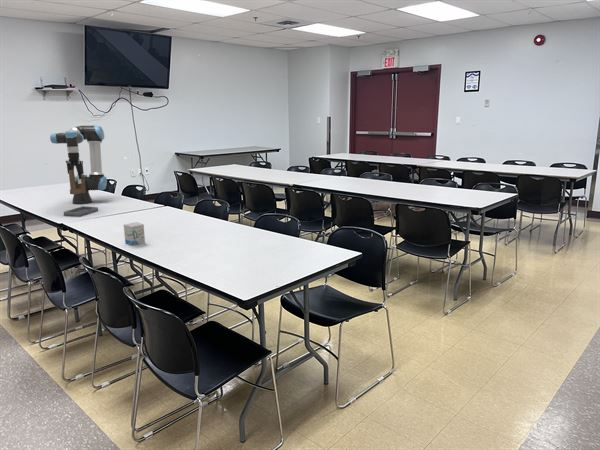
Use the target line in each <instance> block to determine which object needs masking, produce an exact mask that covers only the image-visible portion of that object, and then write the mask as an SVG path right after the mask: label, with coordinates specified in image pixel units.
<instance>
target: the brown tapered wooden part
mask: <svg viewBox="0 0 600 450" xmlns="http://www.w3.org/2000/svg"><path fill="white" fill-rule="evenodd" d="M74 175H75V169H74V170H69V174H68V178H69V187H70V189H69V195H74V194H81V193H86V188H85V177H84V175H85V174H82V175H81V176H82V179H81V184H79V189H76V186H75V184H76V185H78V180H77V181H76V182H75V177H74Z"/></svg>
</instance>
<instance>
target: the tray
mask: <svg viewBox="0 0 600 450" xmlns="http://www.w3.org/2000/svg"><path fill="white" fill-rule="evenodd" d="M96 212H99V207H98V206H79V207H76V208H72V209H69V210H66V211H63V216H64V217H65V216H66V217H74V218H75V217H77V218H78V217H79V218H81V217H84V216H88V215H91V214H93V213H94V214H95V213H96Z"/></svg>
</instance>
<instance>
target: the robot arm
mask: <svg viewBox="0 0 600 450" xmlns="http://www.w3.org/2000/svg"><path fill="white" fill-rule="evenodd" d="M49 140H50V142H51V143H52V144H54V145H55V144H66V149H67V157H68V160H65V163H66V169H67V174H68V175H69V170H74V171H75V169H76V172H77V174H76V175H75V174H74V177H75V182H76V181H77V180H78V185H76V184H75V186H76V189H79V184H81V179H82V176H81V175H82V174H83V175H84V177H85V188H86V193H81V194H73V197H72V204H74V205H84V204H85V205H86V204H90V203H91V204H92V202H93V199H92V196H91V195H90V191H104V190H105V189H106V188H107V183H108V180H107V176H105V174H104V173H103V168H102V167H103V166H102V164H103V163H102V153H101V144H102V143H103V141H104V140H105V131H104V130H103V127H102V126H100V125H95V124H94V125H78V126H74V127H72V128H70V129H68V130H66V131H62V132H58V133H50V135H49ZM84 141H86V142H87V143H88V145H89V146H88V147H89V159H90V160H89V161H90V173H89V174H88V175H87V174H84V165H83V164H84V161H83V160H80V153H79V151H80V150H79V144H81V143H83V142H84Z"/></svg>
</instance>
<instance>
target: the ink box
mask: <svg viewBox="0 0 600 450" xmlns="http://www.w3.org/2000/svg"><path fill="white" fill-rule="evenodd" d="M144 226H145V224H144V223H141V222H138V221H134V222H129V223H125V224H123V232H124V242H125V244H126V245H130V246H137V245H142V244H145V243H146V237H145V236H146V235H145V227H144Z"/></svg>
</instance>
